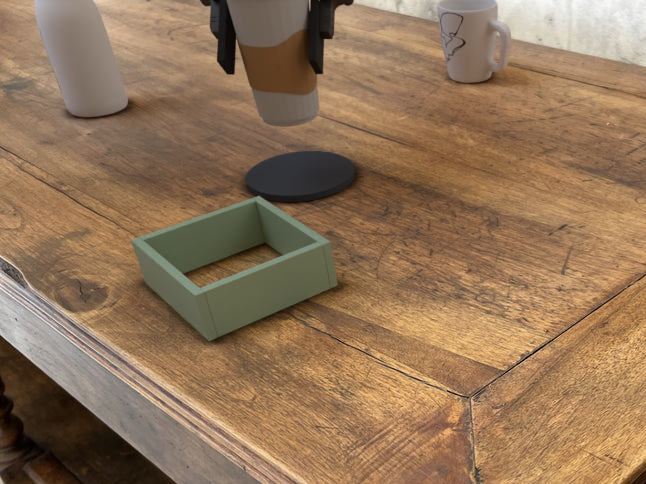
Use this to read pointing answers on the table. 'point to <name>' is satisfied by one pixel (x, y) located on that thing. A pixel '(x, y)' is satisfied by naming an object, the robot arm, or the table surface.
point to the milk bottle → (81, 56)
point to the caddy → (242, 288)
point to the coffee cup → (277, 58)
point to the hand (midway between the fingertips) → (270, 67)
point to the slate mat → (300, 176)
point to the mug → (472, 39)
